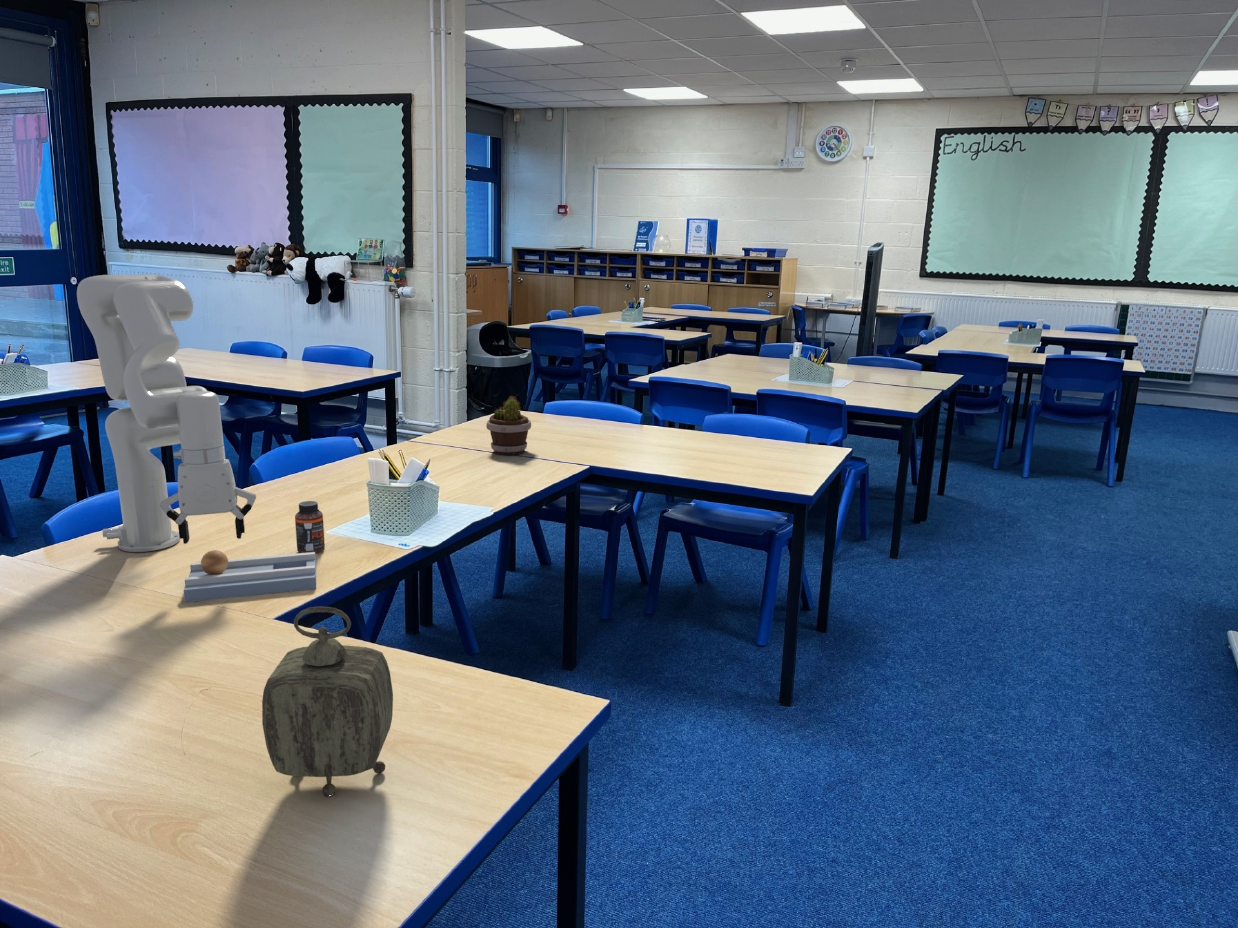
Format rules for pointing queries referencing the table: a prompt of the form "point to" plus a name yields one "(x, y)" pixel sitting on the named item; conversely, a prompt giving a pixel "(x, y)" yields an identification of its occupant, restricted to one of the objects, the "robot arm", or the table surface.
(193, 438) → the robot arm
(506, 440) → the flowerpot
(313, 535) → the supplement bottle
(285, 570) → the track
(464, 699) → the table surface
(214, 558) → the ball
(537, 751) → the table surface
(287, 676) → the tabletop clock
